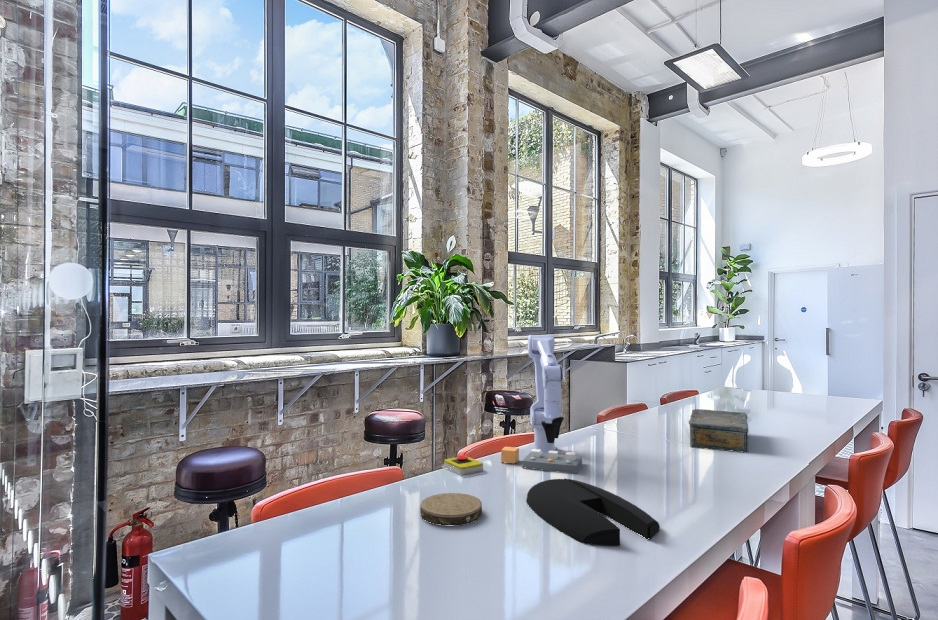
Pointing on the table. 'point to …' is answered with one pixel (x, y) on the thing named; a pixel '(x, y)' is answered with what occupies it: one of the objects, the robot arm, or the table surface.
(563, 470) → the breaker board
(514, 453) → the orange rounded cube
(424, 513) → the wood slice
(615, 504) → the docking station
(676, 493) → the table surface
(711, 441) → the metal box
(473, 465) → the emergency button
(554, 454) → the block
